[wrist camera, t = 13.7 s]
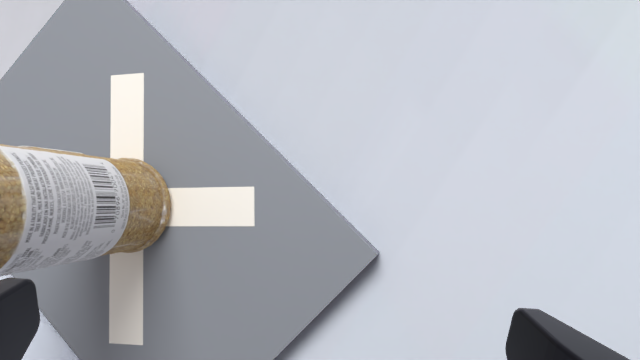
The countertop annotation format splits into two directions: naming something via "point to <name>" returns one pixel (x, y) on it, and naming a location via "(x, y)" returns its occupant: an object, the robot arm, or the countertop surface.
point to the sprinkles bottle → (75, 207)
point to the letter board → (174, 200)
